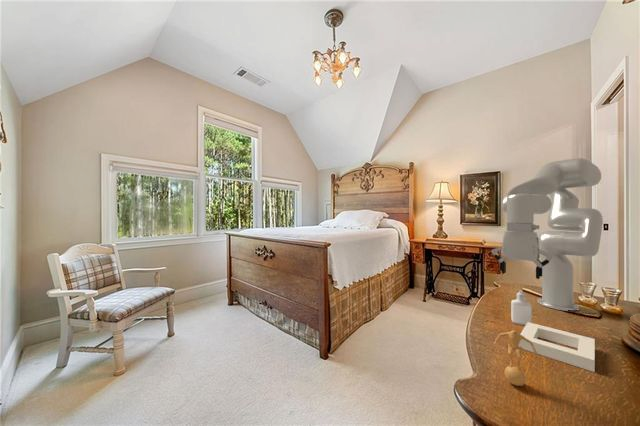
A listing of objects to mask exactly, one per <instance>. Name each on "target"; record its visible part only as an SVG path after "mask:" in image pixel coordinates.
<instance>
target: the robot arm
mask: <svg viewBox="0 0 640 426" xmlns="http://www.w3.org/2000/svg"><path fill="white" fill-rule="evenodd" d="M601 180H602V172H601V170H600V169H599V167H598V166H597V165H596V164H595V163H593V162H591V161H590V160H588V159H586V158H583V157H581V158H580V157H577V158H571V159H569V158H568V159H563V160H554V161H551V162H547V163H545V164H544V165H543V166H542V167H541V168H540V169H539V171H538V172H537V173H536V174H535V175H534V176H533V178H531V179H529V180H527V181H524V182H522V183H521V184H518V185H516V186H514V187H512V188H511V189H510V190H509V191H508V192H507V193H506V194H505V196H504V197H503V199H502V200H501V210H503V212H504V213H505V214H506V231H504V232H503V233H504V234H503V238H502V245H501V246H498V247H496V248H493V249H491V250H490V252H491V254H492V255H493V257H494V259H495V260H497V261H498V263H499V271H500V272H501V274H502V275H503V274H505V273H507V262H506V260H507V259H509V260H519V261H528V262H533V263H534V264H535V265H536V267H535V278H536V279H537V280H540V278H541V291H542V292H541V293H542V295H541V296H542V297H539V298H537V304H539V305H541V306H543V307H546V308H549V309H552V310H553V309H554V310H558V311H564V312H569V311H568V310H577V309H579V310H580V305H578V304H576V303H574V301H575V300H574V299H575V298H574V297H575V296H574V266H573V263H572V261H571V260H570V259H569V258H568V257H567V255H568V256H574V257H575V256H576V257H585V258H587V257H588V258H589V257H591V258H592V257H594V256H596V255H597V254H598V253H599V249H600V243H601V237H602V232H603V231H602V230H603V223H604V221H603V216H602V213H601V211H599V210H598V209H596V208H591V207H588V208H587V207H583V208H581V207H580V208H579V204H580V201H579V198H578V196H576V195H575V194H574V193H573V192H571V191H570V190H568V189H574V188H583V187H586V188H587V187H594V186H596V185H598V184H599V183H600V182H601ZM548 195H549V196H550V197H549V196H548ZM547 212H548V217H547V225H548V227H549V228H550V229H552V230H547V231H544V232H542V233H540V235H538V233H537V232H534V231H535V230H540V225H539V224H538V225H537V224H535V223H534V220H535V219H534V217H535V216H534V215H542V214H543V215H544V214H546V213H547ZM499 251H501V256H502V257H501V256H500V255H499V254H498V252H499ZM540 257H541V260H540Z"/></svg>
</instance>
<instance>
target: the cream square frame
mask: <svg viewBox="0 0 640 426" xmlns="http://www.w3.org/2000/svg"><path fill="white" fill-rule="evenodd" d="M519 334H520V335H522V336H524V337H525V338H527V339H528V340H530V341H531V342H532V343H533V346H534V348H535V349H536V352H537V354H538V356H539V355H540V356H543V357H546V358H549V359H551V360H555V361H559V362H560V363H561V362H562V363H565V364H568V365H571V366H574V367H577V368H580V369H584V370H586V371H589V372H593V373H595V372H596V371H595V368H596V366H595V365H596V364H595V362H596V361H595V360H596V358H595V357H596V354H595V353H596V345H595V343H596V342H595V338H593V337H588V336H585V335H580V334H576V333H573V332H569V331H564V330H561V329H556V328H553V327H550V326H546V325H545V326H544V325H541V324H537V323H534V322H532V323H530V322H527V324H526V325H524V327H523V329H522V330H521V332H520V333H519ZM538 338H539V339H538ZM541 339H542V340H541ZM545 340H547V341H545ZM548 341H549V342H548ZM550 341H551V342H550ZM552 342H554V343H552ZM555 343H557V344H555ZM563 345H564V346H563ZM567 346H568V347H567ZM518 347H522V350H525V351H527V352H530V353H533V354H535V352H534V350H533V348H532V346H531V344H530V343H528V342H527V341H525V340H523V339H521V341H520V343H519V346H518ZM570 347H571V348H570ZM576 349H577V350H576Z"/></svg>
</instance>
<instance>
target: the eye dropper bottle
mask: <svg viewBox="0 0 640 426" xmlns="http://www.w3.org/2000/svg"><path fill="white" fill-rule="evenodd" d="M510 303H511V304H510V307H511V309H510V312H511V313H510V314H511V316H510V318H511V322H512V323H513V324H517V325H521V326H525V325H526V324H527V322H530V323H533V310H532V309H533V308H532V307H533V306H532V303H531V302H529V301H528V300H527V299H526V293H524V292H523V289H519V292H517V293H516V299H512V300H511V302H510Z"/></svg>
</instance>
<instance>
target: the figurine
mask: <svg viewBox="0 0 640 426" xmlns="http://www.w3.org/2000/svg"><path fill="white" fill-rule="evenodd" d="M520 334H521V333H520V332H519V331H517V330H514V329H512V330H511V331H506V332H501V333H499V334H498V335H497V337H496V338H495V340H494V342H493V347H496V345H497V342H498V341H499V339H500V338H501V337H503V336H504V337H505V336H507V337H508V338H509V340H510V343H508V344H507V347H508V348H507V349H508V350H507V352H508V357H509V365H507V366H506V367H505V368H504V376H505V378H506V380H507V381H508V382H509V383H510V384H512V385H513V386H518V387H521V386H523V385H525V384H526V383H527V376H526V374H525V372H524V371H523V370H522V368H521V361H522V358H523V349H522V347H518V346H519V343H520V341H521V339H523V340H525V341H527V342H528V343H530V344H531V346H532V348H533V350H534V352H535V353H534V356H535V357H536V359H539V354H537V352H536V349H535V348H534V346H533V343H532V342H531V341H530V340H528V339H527V338H525V337H524V336H522V335H520ZM514 350H515V354H516V355H517V366H516V365H514V364H513V363H514V362H513V354H514Z"/></svg>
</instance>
